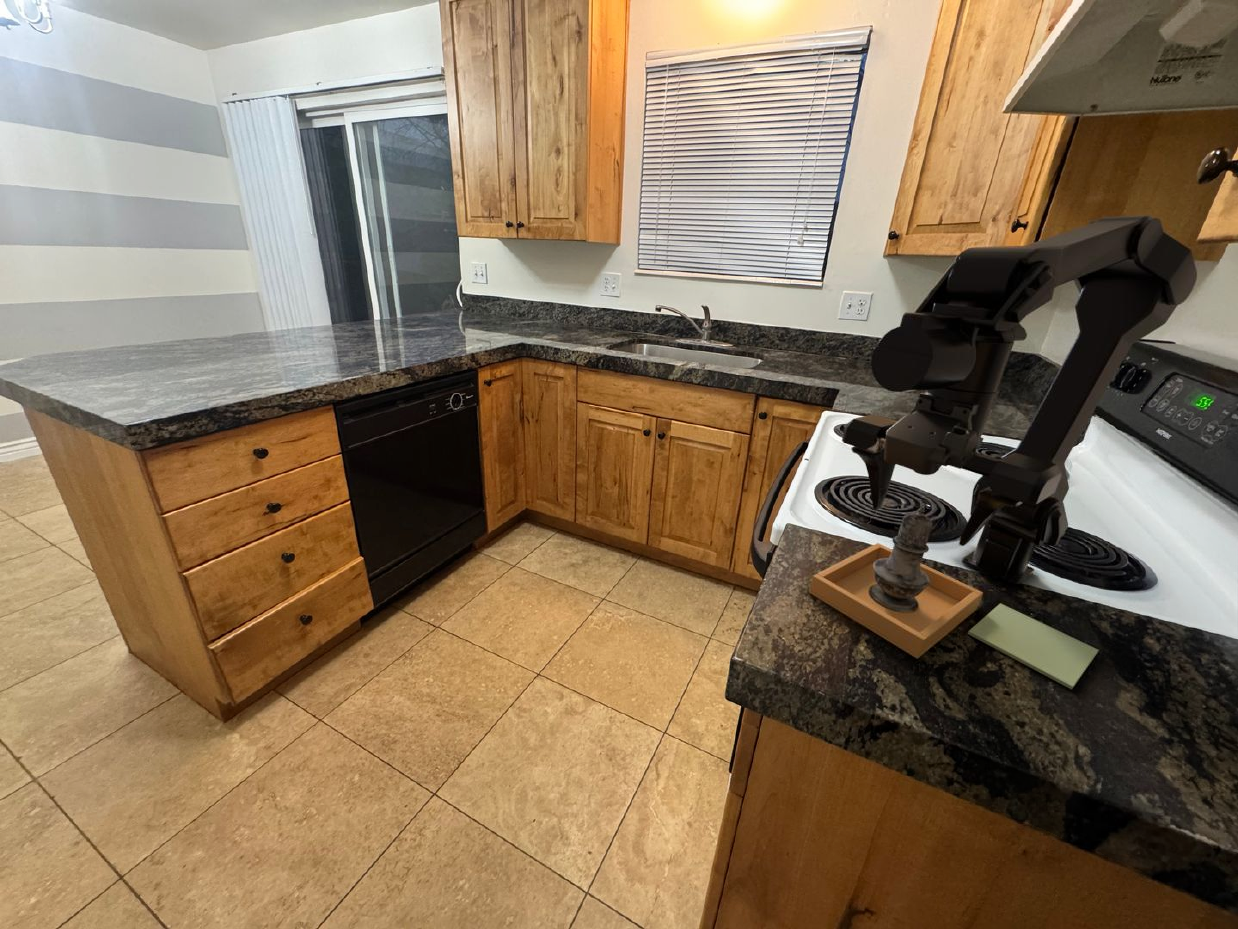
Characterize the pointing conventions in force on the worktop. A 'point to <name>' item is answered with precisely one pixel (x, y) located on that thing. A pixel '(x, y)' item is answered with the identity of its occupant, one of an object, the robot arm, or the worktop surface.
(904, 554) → the stone finial
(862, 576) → the tray
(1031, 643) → the mat
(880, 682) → the worktop surface
